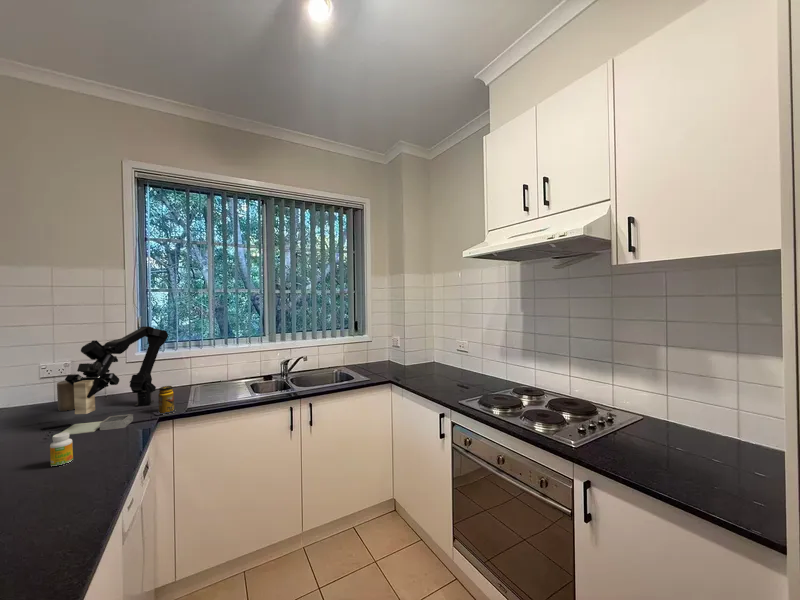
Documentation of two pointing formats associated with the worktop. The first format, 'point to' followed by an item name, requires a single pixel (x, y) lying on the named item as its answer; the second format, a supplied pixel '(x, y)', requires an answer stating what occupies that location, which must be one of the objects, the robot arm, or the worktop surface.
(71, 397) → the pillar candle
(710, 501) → the worktop surface
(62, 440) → the supplement bottle
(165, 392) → the condiment
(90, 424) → the mat
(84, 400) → the block
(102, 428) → the collar
